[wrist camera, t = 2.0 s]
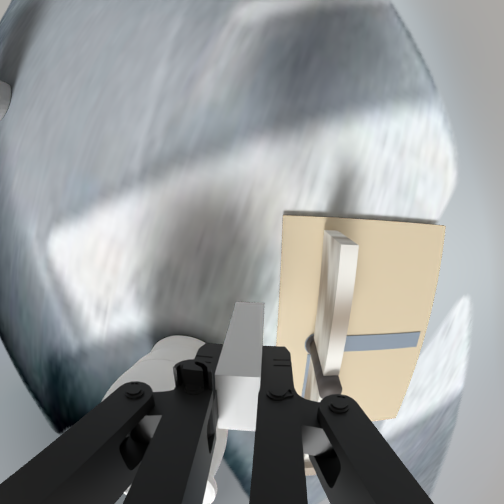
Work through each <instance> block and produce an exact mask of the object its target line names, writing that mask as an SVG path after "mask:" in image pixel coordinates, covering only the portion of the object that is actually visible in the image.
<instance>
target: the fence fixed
mask: <svg viewBox="0 0 504 504" xmlns="http://www.w3.org/2000/svg"><path fill="white" fill-rule="evenodd" d="M313 340H314V335H313V336H311V337H310V338H309V339H308V340H307V342H306V349H307V351H308V353H310V349H309V346H310V344H311V342H312V341H313ZM310 354H311V353H310ZM304 398H305V399H307V400H311V401H316V402H320V401H321V400H322V398H321V397H320V395H319V391H318V386H317V381H316V377H315V372H314V367H313V363H312V358H311V356H310V363H309V370H308V376H307V383H306V389H305V395H304ZM304 464H305V476H308V475H316V472H315V470H314V467H313V465H312V463H311V461H310V459H309V455H308V454H304Z"/></svg>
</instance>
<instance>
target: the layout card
mask: <svg viewBox="0 0 504 504" xmlns="http://www.w3.org/2000/svg"><path fill="white" fill-rule="evenodd" d="M445 227H446V226H444V225H433V224H422V223H410V222H398V221H384V220H370V219H354V218H337V217H317V216H294V215H283V227H282V252H281V273H280V292H279V310H278V326H277V342H276V346H284V347H286V348H287V349H288V351H289V352H290V354H291V363H292V372H293V382H294V388H295V390H296V392H297V394H298V395H300V396H301V397H303V398H304V395H305V389H306V383H307V376H308V370H309V363H310V356H311V354H310V353H308V351H307V349H306V342H307V340H308V339H309V338H310V337H311V336H313V335H314V331H315V323H316V315H317V306H318V296H319V286H320V275H321V263H322V250H323V236H324V230H335V231H339V232H341V233H342V234H343V235H345V236H346V237H348V238H349V239H351V240H352V241H353V242H355V243H356V244H358V245H359V249H358V259H357V268H356V276H355V284H354V292H353V299H352V306H351V313H350V319H349V325H348V331H347V336H346V342H345V347H344V353H343V358H342V363H341V367H340V372H339V375H338V376H339V379H340V382H341V386H342V393H341V394H342V395H347V396H349V397H351V398H353V399H354V400H355V401H356V402H357V403H358V404H359V406H360V407H361V408H362V410H363V411H364V412H365V414H366V415H367V416H368V418H369V419H370V420H371V421H379V420H386V419H392V418H396V416H397V413H398V411H399V409H400V406H401V404H402V401H403V399H404V396H405V394H406V391H407V388H408V386H409V383H410V380H411V378H412V375H413V372H414V369H415V366H416V363H417V360H418V357H419V354H420V350H421V347H422V344H423V340H424V337H425V333H426V330H427V326H428V322H429V318H430V314H431V309H432V306H433V301H434V296H435V291H436V287H437V282H438V276H439V271H440V270H439V269H440V264H441V258H442V251H443V244H444V236H445Z"/></svg>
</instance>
